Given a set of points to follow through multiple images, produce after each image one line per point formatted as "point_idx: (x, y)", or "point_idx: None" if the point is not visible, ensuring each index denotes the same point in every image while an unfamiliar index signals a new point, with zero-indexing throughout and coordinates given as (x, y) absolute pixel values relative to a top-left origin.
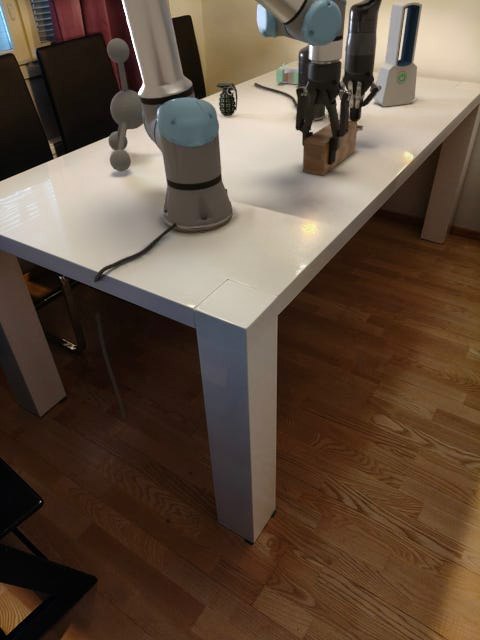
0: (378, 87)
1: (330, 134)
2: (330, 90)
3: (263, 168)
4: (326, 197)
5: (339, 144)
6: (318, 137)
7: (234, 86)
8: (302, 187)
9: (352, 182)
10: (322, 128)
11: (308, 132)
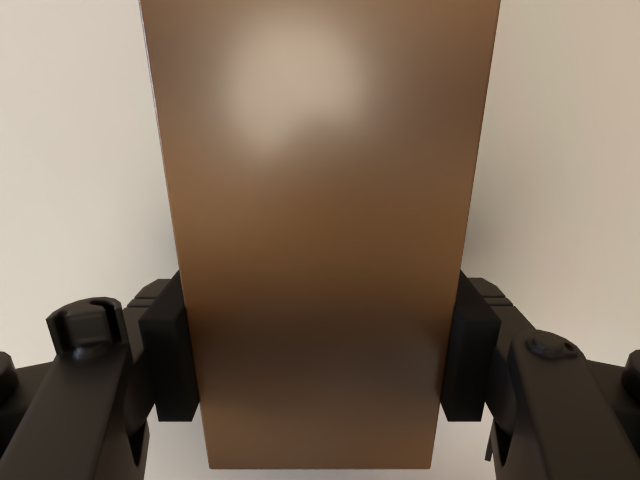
0: None
1: (377, 233)
2: None
3: (48, 349)
4: (480, 477)
5: (509, 306)
6: (297, 370)
7: None
8: None
9: (553, 317)
10: (144, 25)
11: (147, 370)
